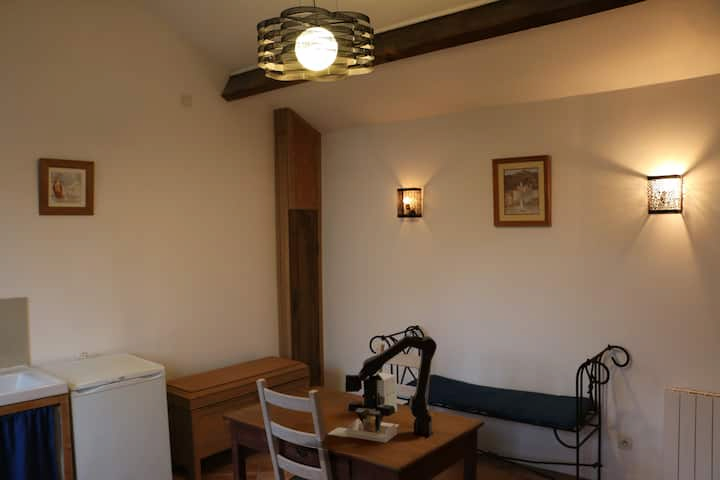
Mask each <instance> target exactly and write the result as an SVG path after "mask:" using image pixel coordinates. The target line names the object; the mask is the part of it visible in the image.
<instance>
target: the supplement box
mask: <svg viewBox="0 0 720 480" xmlns="http://www.w3.org/2000/svg"><path fill="white" fill-rule="evenodd" d="M377 373H378V374H379V375H380V376H381V377H382V380H377V382H378V392H379V393H380V396H383V397H385V400H384V405H391V406H394V408H395V413H396V412H398V404H397V403H398V402H397V375H396V374H390V373H385V372H377ZM377 373H376V374H377ZM376 374H375V375H376ZM384 405H383V404H381V405H380V406H378V407H383V406H384ZM369 414H372V415H377V414H378V412H377V411H370V410H369Z"/></svg>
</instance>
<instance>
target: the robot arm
mask: <svg viewBox="0 0 720 480" xmlns="http://www.w3.org/2000/svg"><path fill="white" fill-rule="evenodd" d="M407 348H414V349H416V350H417V349H418V350H420V362H419V368H418V374H417V375H418V376H417V382H416V386H415V387H416V388H415V392H414V394H413V395H412V394H411V395H409V403H408V407H409V409H410V413H411V414H412V416H413V417H414V418H415V419H414V422H413V435H414V436H419V437H424V438H427V439H428V438H430V437H431V436H432V435H433V434H434V431H433V427H432V426H433V423H432V422H433V421H432V420H433V419H432V415H431V413H430V411H429V410H428V409H427V401H426V393H427V387H428V381H429V380H428V379H429V375H430V374H429V373H430V368H431V362H432V360H433V359H434V356H435V353H436V351H437V343H436V341H435V339H433V338H432V337H431V336H429V335H428V336H424V337H423V336H412V335H408V334H407V335H404V336H403V337H402V338H401V339H399V340H398V341H396V342H395V343H394V344H392V345H390V346H389V347H388V348H386V349H385V350H383V351H382V352H380V353H379V354H376V355H374V356H370V357H369V358H367V359H365V360H364V361H363V363H362V368H361V369H360V371H359V372H358V374H345V381H344V382H345V384H344V385H345V391H344V392H345V393H355V392H356V393H357V392H360V391H362V389H363V394H362V398H363V401H359V400H354V401H352V402H350V403H349V404H348V405H347V411H348V412H353V413H355V415H357V418H358V419H359V421H361V422H362V424H363V419H364V418H366V417H367V416H368V415H367V413H368V411H369V412H370V411H377V412H378V414H377V415H376V414H374V416H375V420H376V429H377V431H378V430H379V428H380V425H381V422H382V421H383V419H384V417H390V416H392V415H393V414H394V413H396V412H395V408H394V406H391V405H384V400H385V397H383V396H380V393H379V392H378V382H377V380H382V377H381V376H380V375H379V374H378V373H379V371H380V370H381V369H382V368H383V366H384V365H385V364H386V363H387V362H389V361H391V360H392V359H393V358H395V357H396V356H398V355H400V354H401V353H402V352H403V351H405V350H406V349H407ZM375 374H376V375H375ZM381 404H383V405H384V406H383V407H378V406H380V405H381Z"/></svg>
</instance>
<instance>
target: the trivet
mask: <svg viewBox="0 0 720 480" xmlns="http://www.w3.org/2000/svg"><path fill="white" fill-rule="evenodd" d="M347 429H348V427H347V428H346V427H336V428H335V429H332V430H331V431H330V432H328V433H327V435H331V436H338V437H344V438H348V436H347V433H346V432H344V431H345V430H347Z"/></svg>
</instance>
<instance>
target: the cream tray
mask: <svg viewBox="0 0 720 480" xmlns="http://www.w3.org/2000/svg"><path fill="white" fill-rule="evenodd" d="M347 426H348V427H347V430H345V431H344V432H346V433H347V438H355V439H361V440H366V441H367V440H368V441H374V442H379V443H387V442H388V441H390V440H391V439H393V438H394V437H395V436H396V435H397V434H398V433H397V431H398V429H397V428H398V427H399V426H400V424H396V423H389V422H384V421H383V422H382V421H381V425H380V434H379V433H373V432H366V431H363V424H362V422H361V420H360V418H357V419H355V420H354V421H352V422H351V423H349V424H348V425H347Z"/></svg>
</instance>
